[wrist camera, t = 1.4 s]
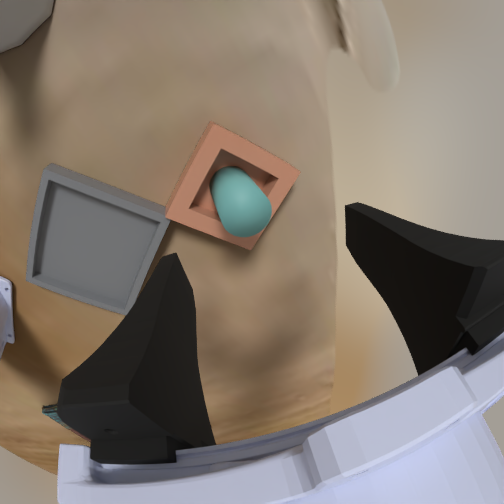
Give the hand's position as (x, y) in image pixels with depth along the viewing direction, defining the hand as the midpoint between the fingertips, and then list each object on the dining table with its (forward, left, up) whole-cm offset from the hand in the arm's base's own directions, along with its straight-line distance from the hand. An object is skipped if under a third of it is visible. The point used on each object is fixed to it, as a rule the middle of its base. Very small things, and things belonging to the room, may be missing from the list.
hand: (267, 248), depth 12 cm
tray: (-9, +7, -10) cm, 16 cm away
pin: (0, -1, -10) cm, 10 cm away
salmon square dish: (0, -1, -10) cm, 10 cm away
